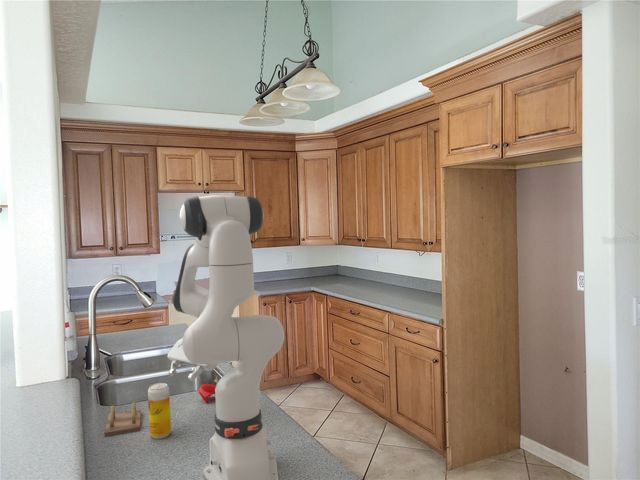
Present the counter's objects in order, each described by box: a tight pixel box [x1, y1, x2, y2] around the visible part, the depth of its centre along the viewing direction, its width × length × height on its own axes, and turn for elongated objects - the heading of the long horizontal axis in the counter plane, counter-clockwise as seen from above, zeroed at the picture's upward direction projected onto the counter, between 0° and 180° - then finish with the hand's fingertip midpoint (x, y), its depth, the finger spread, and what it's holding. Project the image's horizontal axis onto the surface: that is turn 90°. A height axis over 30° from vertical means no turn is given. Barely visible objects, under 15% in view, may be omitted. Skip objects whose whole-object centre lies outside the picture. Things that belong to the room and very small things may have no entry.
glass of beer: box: [147, 382, 172, 440], centre depth 142 cm, size 6×6×15 cm
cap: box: [198, 383, 216, 404], centre depth 169 cm, size 8×6×6 cm
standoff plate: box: [104, 402, 142, 437], centre depth 151 cm, size 14×10×5 cm
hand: (180, 377), depth 149 cm, fingers open, 8 cm apart
